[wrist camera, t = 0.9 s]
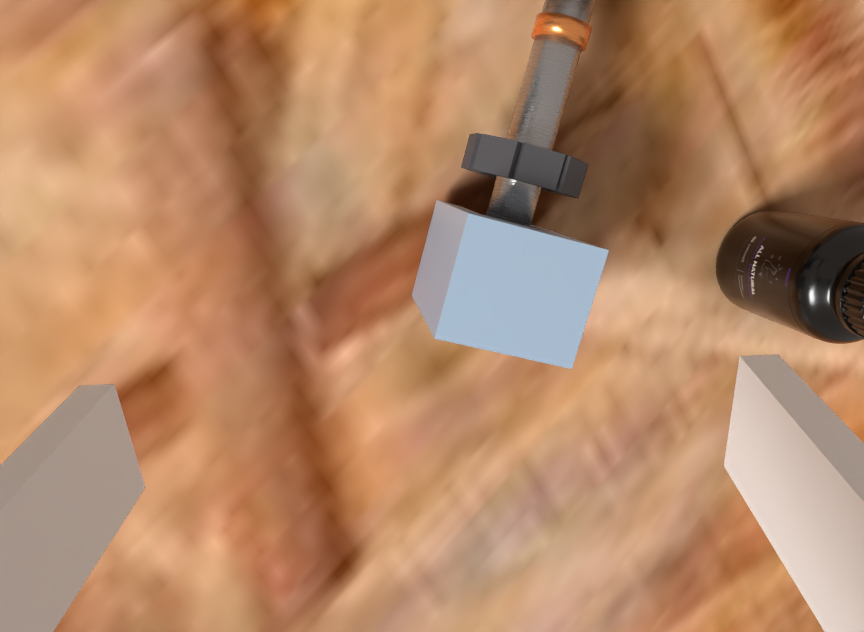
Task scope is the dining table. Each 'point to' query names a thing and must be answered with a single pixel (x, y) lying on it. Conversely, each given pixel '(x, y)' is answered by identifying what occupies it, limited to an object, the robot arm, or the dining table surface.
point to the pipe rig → (543, 97)
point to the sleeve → (506, 285)
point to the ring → (525, 164)
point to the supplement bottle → (797, 272)
